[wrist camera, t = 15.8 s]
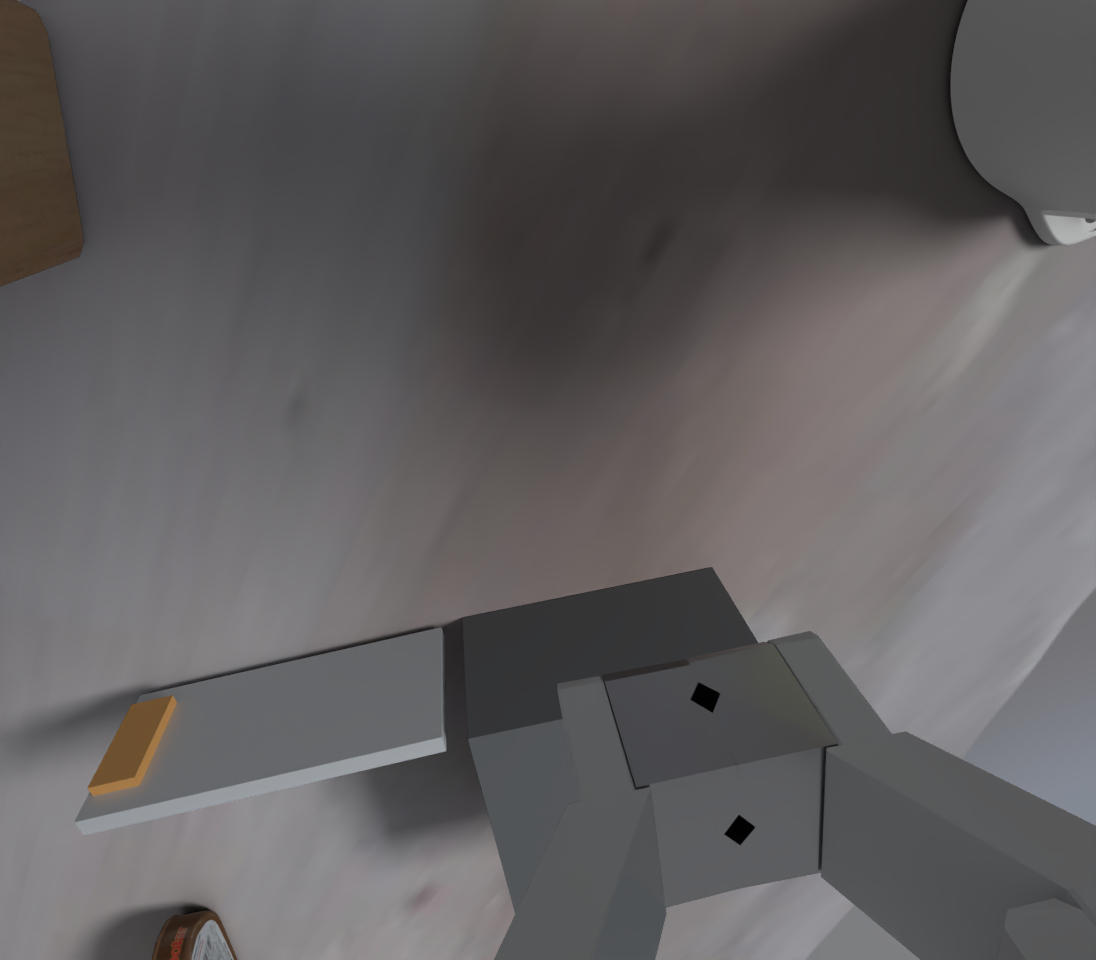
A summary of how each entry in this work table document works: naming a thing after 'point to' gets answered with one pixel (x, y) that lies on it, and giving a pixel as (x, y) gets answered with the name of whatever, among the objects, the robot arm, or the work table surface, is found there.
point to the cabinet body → (561, 656)
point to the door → (272, 730)
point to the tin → (193, 938)
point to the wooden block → (32, 153)
